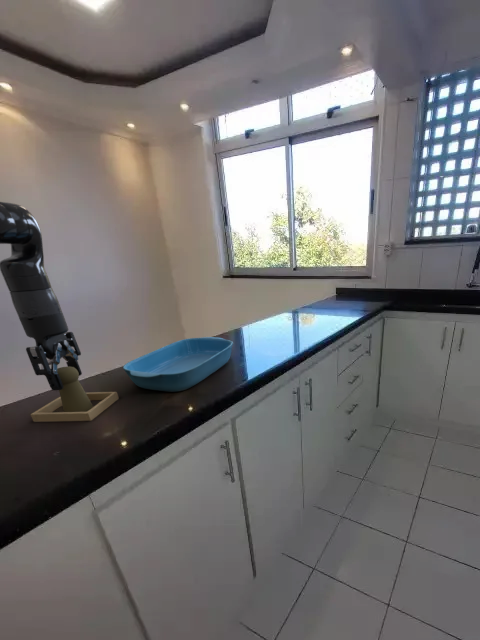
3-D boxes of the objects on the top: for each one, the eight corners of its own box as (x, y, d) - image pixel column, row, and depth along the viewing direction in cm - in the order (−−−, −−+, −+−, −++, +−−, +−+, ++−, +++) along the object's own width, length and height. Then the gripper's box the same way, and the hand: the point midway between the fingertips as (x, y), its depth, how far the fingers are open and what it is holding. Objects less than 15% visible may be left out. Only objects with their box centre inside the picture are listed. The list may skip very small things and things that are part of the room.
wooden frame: (35, 425, 71) (30, 414, 70) (69, 402, 82) (65, 392, 81) (92, 423, 71) (88, 413, 70) (119, 401, 81) (116, 391, 80)
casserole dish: (180, 402, 79) (174, 376, 76) (112, 394, 86) (104, 370, 82) (245, 357, 111) (243, 337, 107) (192, 353, 117) (188, 335, 114)
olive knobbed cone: (91, 402, 80) (76, 362, 75) (95, 410, 76) (79, 368, 71) (63, 410, 77) (45, 368, 72) (65, 418, 72) (47, 375, 68)
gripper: (40, 307, 72) (66, 373, 79) (-4, 320, 59) (32, 396, 66) (75, 305, 72) (98, 370, 80) (39, 317, 60) (69, 393, 67)
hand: (68, 382), depth 73 cm, fingers open, 8 cm apart
